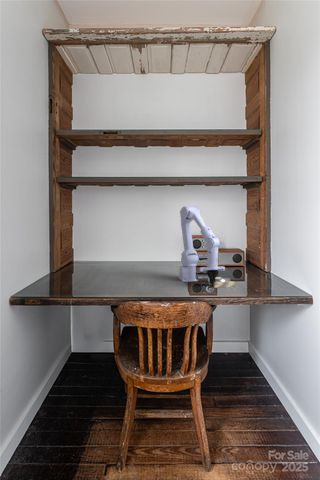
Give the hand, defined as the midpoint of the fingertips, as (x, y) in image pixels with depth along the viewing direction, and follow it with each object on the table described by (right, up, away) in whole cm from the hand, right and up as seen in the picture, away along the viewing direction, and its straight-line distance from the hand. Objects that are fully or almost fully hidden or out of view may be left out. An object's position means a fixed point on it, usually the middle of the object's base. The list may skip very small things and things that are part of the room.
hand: (211, 283), depth 173 cm
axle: (+6, 0, +2) cm, 6 cm away
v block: (+4, -1, +9) cm, 10 cm away
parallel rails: (+6, -1, +2) cm, 6 cm away
